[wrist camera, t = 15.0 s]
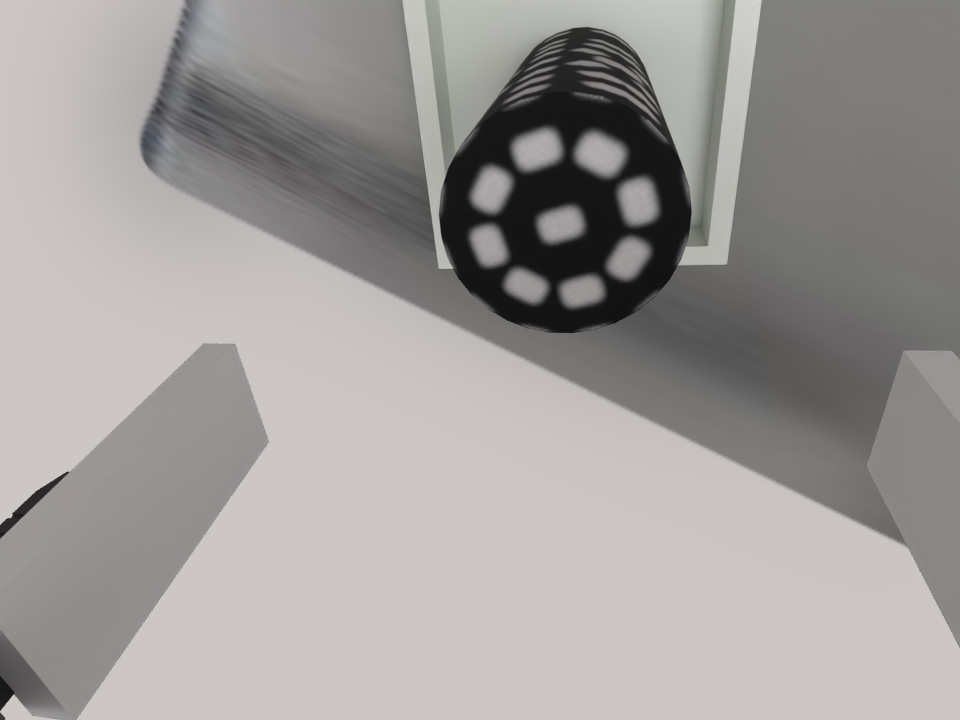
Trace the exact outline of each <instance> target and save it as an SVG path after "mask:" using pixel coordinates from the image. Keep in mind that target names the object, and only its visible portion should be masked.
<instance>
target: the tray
mask: <svg viewBox="0 0 960 720" xmlns="http://www.w3.org/2000/svg"><path fill="white" fill-rule="evenodd" d="M402 1H403V9H404V16H405V24H406V31H407V38H408V46H409V53H410V60H411V68H412V75H413V83H414V90H415V97H416V105H417V112H418V120H419V127H420V134H421V142H422V149H423V156H424V164H425V171H426V179H427V186H428V193H429V201H430V208H431V215H432V223H433V230H434V238H435V245H436V252H437V260H438V267H439V269H453V267H452V265H451V263H450V262H449V260H448V257H447V254H446V251H445V248H444V245H443V241H442V238H441V230H440V221H439V207H440V197H441V190H442V186H443V183H444V180H445V177H446V173H447V170H448V167H449V166H450V164H451V162H452V160H453V158H454V156H455V155H456V153H457V151H458V149H459V147H460V146H461V144H462V143H463V142H464V140H465V139H466V138H467V136H468V135H469V134H470V132H471V131H472V130H473V128H474V127H475V126H476V124H477V123H478V122H479V120H480V119H481V118H482V116H483V115H484V113H485V112H486V111H487V109H488V108H489V107H490V105H491V104H492V103H493V101H494V100H495V99H496V97H497V96H498V95H499V93H500V92H501V91H502V89H503V88H504V87H505V85H506V84H507V82H508V81H509V80H510V78H511V77H512V76H513V74H514V73H515V72H516V70H517V69H518V68H519V66H520V65H521V64H522V62H523V61H524V60H525V58H526V57H527V56H528V55H529V54H530V52H531V51H532V50H533V49H534V48H535V47H536V46H537V45H539V44H540V43H541V42H542V41H544V40H545V39H546V38H548V37H550V36H552V35H554V34H556V33H558V32H560V31H564V30H567V29H571V28H579V27H591V28H597V29H603V30H605V31H608V32H610V33H613V34H615V35H617V36H618V37H620V38H621V39H622V40H624V41H625V42H627V43H628V44H629V45H630V46H631V47H632V48H633V50H634V51H635V52H636V53H637V54H638V56H639V58H640V59H641V61H642V63H643V64H644V66H645V69H646V71H647V74H648V76H649V79H650V82H651V84H652V87H653V89H654V92H655V95H656V97H657V100H658V103H659V105H660V108H661V110H662V113H663V116H664V118H665V121H666V123H667V126H668V129H669V131H670V134H671V137H672V139H673V142H674V144H675V147H676V150H677V152H678V155H679V157H680V160H681V163H682V166H683V169H684V172H685V175H686V178H687V181H688V184H689V187H690V197H691V208H692V216H691V224H690V232H689V238H688V241H687V244H686V247H685V250H684V253H683V256H682V259H681V261H680V262H679V264H678V265H727V259H728V251H729V244H730V236H731V229H732V221H733V214H734V206H735V198H736V191H737V183H738V176H739V168H740V161H741V153H742V145H743V138H744V130H745V123H746V115H747V108H748V100H749V92H750V85H751V77H752V70H753V62H754V55H755V47H756V39H757V32H758V24H759V17H760V9H761V2H762V0H402Z"/></svg>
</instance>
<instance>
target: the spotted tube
mask: <svg viewBox="0 0 960 720" xmlns="http://www.w3.org/2000/svg"><path fill="white" fill-rule="evenodd" d="M691 216H692V208H691V197H690V187H689V184H688V181H687V178H686V175H685V172H684V169H683V166H682V163H681V160H680V157H679V155H678V152H677V150H676V147H675V144H674V142H673V139H672V137H671V134H670V131H669V129H668V126H667V123H666V121H665V118H664V116H663V113H662V110H661V108H660V105H659V103H658V100H657V97H656V95H655V92H654V89H653V87H652V84H651V82H650V79H649V76H648V74H647V71H646V69H645V66H644V64H643V63H642V61H641V59H640V58H639V56H638V54H637V53H636V52H635V51H634V50H633V48H632V47H631V46H630V45H629V44H628V43H627V42H625V41H624V40H622V39H621V38H620V37H618V36H617V35H615V34H613V33H610V32H608V31H605V30H603V29H597V28H591V27H579V28H571V29H567V30H564V31H560V32H558V33H556V34H554V35H552V36H550V37H548V38H546V39H545V40H544V41H542V42H541V43H540V44H539V45H537V46H536V47H535V48H534V49H533V50H532V51H531V52H530V54H529V55H528V56H527V57H526V58H525V60H524V61H523V62H522V64H521V65H520V66H519V68H518V69H517V70H516V72H515V73H514V74H513V76H512V77H511V78H510V80H509V81H508V82H507V84H506V85H505V87H504V88H503V89H502V91H501V92H500V93H499V95H498V96H497V97H496V99H495V100H494V101H493V103H492V104H491V105H490V107H489V108H488V109H487V111H486V112H485V113H484V115H483V116H482V118H481V119H480V120H479V122H478V123H477V124H476V126H475V127H474V128H473V130H472V131H471V132H470V134H469V135H468V136H467V138H466V139H465V140H464V142H463V143H462V144H461V146H460V147H459V149H458V151H457V153H456V155H455V156H454V158H453V160H452V162H451V164H450V166H449V167H448V170H447V173H446V177H445V180H444V183H443V186H442V190H441V197H440V207H439V221H440V230H441V238H442V241H443V245H444V248H445V251H446V254H447V257H448V260H449V262H450V263H451V265H452V267H453V269H454V271H455V273H456V275H457V277H458V278H459V280H460V281H461V282H462V283H463V284H464V286H465V287H466V288H467V289H468V291H469V292H470V293H471V294H472V295H473V296H474V297H475V298H476V299H477V300H478V301H479V302H481V303H482V304H483V305H484V306H485V307H486V308H488V309H489V310H491V311H492V312H494V313H496V314H497V315H499V316H501V317H502V318H504V319H506V320H507V321H510V322H513V323H515V324H518V325H521V326H523V327H526V328H529V329H534V330H539V331H545V332H551V333H575V332H582V331H589V330H595V329H598V328H601V327H604V326H607V325H610V324H613V323H616V322H618V321H620V320H622V319H623V318H625V317H627V316H629V315H631V314H633V313H635V312H636V311H638V310H639V309H640V308H641V307H643V306H644V305H645V304H646V303H648V302H649V301H650V300H651V299H653V298H654V297H655V296H656V295H657V293H658V292H659V291H660V290H661V289H662V288H663V287H664V285H665V284H666V283H667V282H668V281H669V280H670V278H671V276H672V275H673V273H674V271H675V269H676V268H677V266H678V264H679V262H680V261H681V259H682V256H683V253H684V250H685V247H686V244H687V241H688V238H689V232H690V224H691Z"/></svg>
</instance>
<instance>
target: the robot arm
mask: <svg viewBox="0 0 960 720" xmlns="http://www.w3.org/2000/svg"><path fill="white" fill-rule="evenodd" d="M268 443H269V440H268V437H267V434H266V432H265V429H264V426H263V423H262V420H261V417H260V414H259V411H258V409H257V406H256V403H255V400H254V397H253V394H252V391H251V388H250V385H249V383H248V379H247V377H246V374H245V371H244V368H243V365H242V362H241V359H240V357H239V353H238V351H237V348H236V345H235V344H203V345H202V346H201V347H200V348H198V349H197V350H196V351H195V352H194V353H193V354H192V355H191V356H190V357H189V358H188V359H187V360H186V361H185V362H184V363H183V364H182V365H181V366H180V367H179V368H178V369H177V370H176V371H175V372H173V374H172V375H170V376H169V377H168V378H167V379H166V380H165V381H164V382H163V383H162V384H161V385H160V386H159V387H158V388H157V389H156V390H155V391H154V392H153V393H152V394H151V395H149V396H148V397H147V398H146V399H145V400H144V401H143V402H142V403H141V404H140V405H139V406H138V407H137V408H136V409H135V410H134V411H133V412H132V413H131V414H130V415H129V416H128V417H127V418H126V419H124V420H123V422H121V423H120V424H119V425H118V426H117V427H116V428H115V429H114V430H113V431H112V432H111V433H110V434H109V435H108V436H107V437H106V438H105V439H104V440H103V441H102V442H101V443H99V444H98V445H97V446H96V448H94V449H93V450H92V451H91V452H90V453H89V454H88V455H87V456H86V457H85V458H84V459H83V460H82V461H81V462H80V463H79V464H78V465H77V466H76V467H75V468H73V470H71V471H70V472H66V473H64V474H63V475H61V476H60V477H58V478H56V479H55V480H53V481H52V482H50V483H48V484H47V485H45V486H44V487H42V488H40V489H39V490H37V491H36V492H35V493H34V494H33V495H32V496H31V497H30V498H28V499H27V500H26V501H25V502H24V503H23V504H22V505H21V506H20V507H19V508H18V509H17V510H16V511H15V512H14V513H13V516H12V518H7V519H6V520H5V521H4V522H3V523H2V524H1V525H0V711H1V709H2V708H3V707H4V706H5V704H6V703H7V702H8V701H9V699H10V698H11V697H12V696H13V694H14V695H15V696H16V697H17V698H18V699H19V701H20V702H21V703H22V704H23V705H24V706H25V708H26V709H27V710H28V711H29V712H30V713H31V714H32V716H39V717H46V718H53V719H59V720H77V718H78V716H79V715H80V714H81V712H82V711H83V709H84V708H85V707H86V705H87V704H88V702H89V701H90V699H91V698H92V696H93V695H94V694H95V692H96V691H97V689H98V688H99V686H100V685H101V684H102V682H103V681H104V679H105V678H106V676H107V675H108V673H109V672H110V671H111V669H112V668H113V666H114V665H115V663H116V662H117V660H118V659H119V658H120V656H121V655H122V653H123V651H124V650H125V649H126V647H127V646H128V644H129V643H130V642H131V640H132V639H133V637H134V636H135V634H136V633H137V632H138V630H139V629H140V627H141V626H142V624H143V623H144V622H145V620H146V619H147V617H148V616H149V614H150V613H151V611H152V610H153V608H154V607H155V606H156V604H157V603H158V601H159V600H160V598H161V597H162V595H163V594H164V593H165V591H166V590H167V588H168V587H169V585H170V584H171V583H172V581H173V580H174V578H175V577H176V575H177V574H178V572H179V571H180V569H181V568H182V567H183V565H184V564H185V562H186V561H187V560H188V558H189V556H190V555H191V554H192V552H193V551H194V549H195V548H196V546H197V545H198V544H199V542H200V541H201V539H202V538H203V536H204V535H205V534H206V532H207V531H208V529H209V528H210V526H211V525H212V523H213V522H214V521H215V519H216V518H217V516H218V515H219V513H220V512H221V510H222V509H223V507H224V506H225V505H226V503H227V502H228V500H229V499H230V497H231V496H232V495H233V493H234V492H235V490H236V489H237V487H238V486H239V485H240V483H241V482H242V480H243V479H244V477H245V476H246V474H247V473H248V472H249V470H250V469H251V467H252V465H253V464H254V463H255V461H256V460H257V459H258V457H259V456H260V454H261V453H262V451H263V450H264V448H265V447H266V446H267V444H268ZM867 469H868V471H869V473H870V475H871V477H872V479H873V481H874V483H875V484H876V486H877V488H878V490H879V492H880V494H881V496H882V498H883V500H884V502H885V504H886V506H887V508H888V510H889V512H890V513H891V515H892V517H893V519H894V521H895V523H896V525H897V527H898V529H899V531H900V533H901V535H902V537H903V539H904V541H905V542H906V544H907V546H908V548H909V550H910V552H911V554H912V556H913V558H914V560H915V562H916V564H917V566H918V568H919V570H920V572H921V573H922V575H923V577H924V579H925V581H926V583H927V585H928V586H929V589H930V591H931V593H932V595H933V597H934V599H935V601H936V602H937V604H938V606H939V608H940V610H941V612H942V614H943V616H944V618H945V620H946V622H947V624H948V626H949V628H950V630H951V631H952V633H953V635H954V637H955V639H956V641H957V643H958V645H959V647H960V360H959V358H958V357H957V356H956V355H955V354H954V353H953V352H952V351H907V350H904V351H903V354H902V357H901V360H900V363H899V366H898V369H897V373H896V376H895V379H894V382H893V385H892V388H891V391H890V395H889V398H888V401H887V404H886V407H885V410H884V413H883V417H882V420H881V423H880V426H879V429H878V432H877V435H876V439H875V442H874V445H873V448H872V451H871V454H870V457H869V460H868V464H867ZM0 720H5V717H4V716H3V715H2V714H1V713H0Z"/></svg>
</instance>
